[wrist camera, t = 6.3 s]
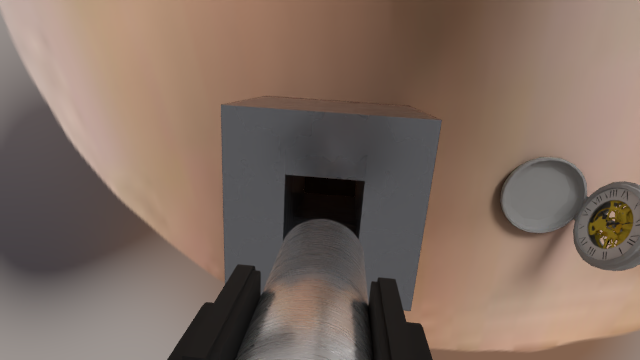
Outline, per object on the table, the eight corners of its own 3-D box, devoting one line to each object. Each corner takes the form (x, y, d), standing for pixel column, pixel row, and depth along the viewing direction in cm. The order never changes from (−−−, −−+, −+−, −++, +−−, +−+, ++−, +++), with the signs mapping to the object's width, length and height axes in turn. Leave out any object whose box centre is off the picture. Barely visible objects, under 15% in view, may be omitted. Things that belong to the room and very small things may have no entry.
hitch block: (408, 105, 28) (441, 120, 18) (391, 237, 31) (410, 311, 21) (265, 96, 29) (221, 104, 19) (263, 226, 32) (225, 291, 22)
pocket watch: (491, 167, 29) (562, 210, 19) (599, 140, 27) (732, 172, 18) (506, 251, 31) (576, 328, 21) (606, 229, 30) (729, 301, 20)
